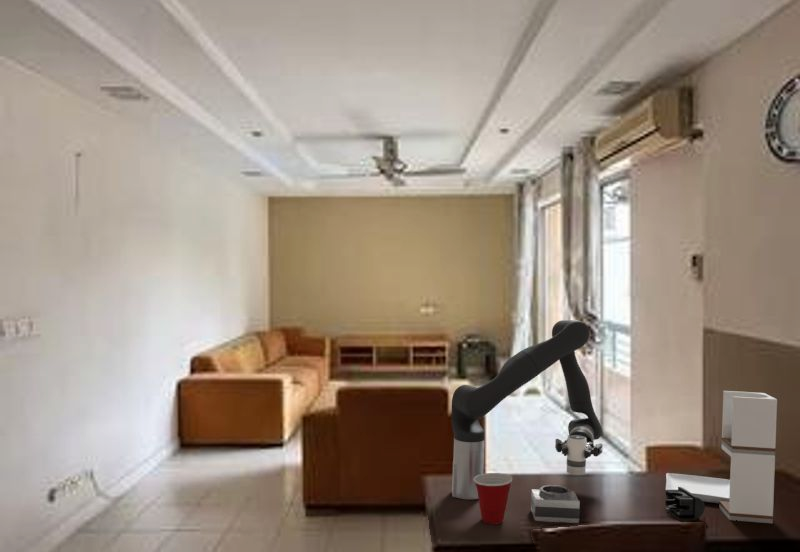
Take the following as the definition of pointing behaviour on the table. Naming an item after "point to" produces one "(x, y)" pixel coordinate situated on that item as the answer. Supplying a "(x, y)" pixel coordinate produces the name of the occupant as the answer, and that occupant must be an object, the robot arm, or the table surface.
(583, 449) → the lens barrel
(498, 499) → the plastic cup
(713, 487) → the salad plate
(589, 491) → the table surface
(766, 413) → the white shelf tower
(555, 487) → the banded square pedestal
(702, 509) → the end cap
